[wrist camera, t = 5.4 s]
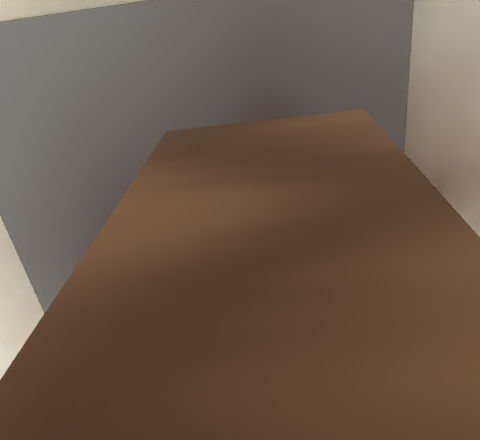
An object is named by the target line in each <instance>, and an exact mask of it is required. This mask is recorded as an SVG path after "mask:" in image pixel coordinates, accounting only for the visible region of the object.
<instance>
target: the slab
mask: <svg viewBox="0 0 480 440" xmlns="http://www.w3.org/2000/svg"><path fill="white" fill-rule="evenodd" d="M0 440H480V237H479V236H478V235H477V234H476V233H475V232H474V231H473V230H472V228H471V227H470V226H469V225H468V224H467V223H466V222H465V221H464V220H463V218H462V217H461V216H460V215H459V214H458V213H457V212H456V211H455V209H454V208H453V207H452V206H451V205H450V204H449V203H448V202H447V201H446V199H445V198H444V197H443V196H442V195H441V194H440V193H439V192H438V191H437V189H436V188H435V187H434V186H433V185H432V184H431V183H430V182H429V181H428V179H427V178H426V177H425V176H424V175H423V174H422V173H421V172H420V171H419V169H418V168H417V167H416V166H415V165H414V164H413V163H412V162H411V161H410V159H409V158H408V157H407V156H406V155H405V154H404V153H403V152H402V151H401V149H400V148H399V147H398V146H397V145H396V144H395V143H394V142H393V141H392V139H391V138H390V137H389V136H388V135H387V134H386V133H385V132H384V131H383V129H382V128H381V127H380V126H379V125H378V124H377V123H376V122H375V120H374V119H373V118H372V117H371V116H370V115H369V114H368V113H367V112H366V110H365V109H360V110H351V111H342V112H333V113H324V114H315V115H306V116H297V117H289V118H280V119H271V120H262V121H253V122H244V123H235V124H226V125H217V126H208V127H199V128H190V129H181V130H172V131H166V132H165V134H164V135H163V137H162V138H161V140H160V141H159V143H158V144H157V146H156V147H155V149H154V150H153V152H152V153H151V155H150V156H149V158H148V159H147V161H146V162H145V164H144V165H143V167H142V168H141V170H140V171H139V173H138V174H137V176H136V177H135V179H134V180H133V182H132V183H131V185H130V186H129V188H128V189H127V191H126V192H125V194H124V195H123V197H122V198H121V200H120V201H119V203H118V204H117V206H116V207H115V209H114V210H113V212H112V213H111V215H110V216H109V218H108V219H107V221H106V222H105V224H104V225H103V227H102V228H101V230H100V231H99V233H98V234H97V236H96V237H95V239H94V240H93V242H92V243H91V245H90V246H89V248H88V249H87V251H86V252H85V254H84V255H83V257H82V258H81V260H80V261H79V263H78V264H77V266H76V267H75V269H74V270H73V272H72V273H71V275H70V276H69V278H68V279H67V281H66V282H65V284H64V285H63V287H62V288H61V290H60V291H59V293H58V294H57V296H56V297H55V299H54V300H53V302H52V303H51V305H50V306H49V308H48V309H47V311H46V312H45V314H44V315H43V317H42V318H41V320H40V321H39V323H38V324H37V326H36V327H35V329H34V330H33V332H32V333H31V335H30V336H29V338H28V339H27V341H26V342H25V344H24V345H23V347H22V348H21V350H20V351H19V353H18V354H17V356H16V357H15V359H14V360H13V362H12V363H11V365H10V366H9V368H8V369H7V371H6V372H5V374H4V375H3V377H2V378H1V380H0Z"/></svg>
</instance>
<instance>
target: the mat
mask: <svg viewBox="0 0 480 440" xmlns="http://www.w3.org/2000/svg"><path fill="white" fill-rule="evenodd" d="M413 6H414V0H150V1H143V2H136V3H129V4H122V5H115V6H108V7H101V8H94V9H87V10H80V11H73V12H66V13H59V14H52V15H45V16H38V17H31V18H24V19H17V20H10V21H3V22H0V216H1V218H2V220H3V222H4V225H5V227H6V229H7V231H8V233H9V236H10V238H11V240H12V242H13V244H14V247H15V249H16V251H17V253H18V255H19V258H20V260H21V262H22V264H23V266H24V269H25V271H26V273H27V275H28V277H29V280H30V282H31V284H32V286H33V288H34V291H35V293H36V295H37V297H38V299H39V302H40V304H41V306H42V308H43V311H44V313H45V312H46V311H47V309H48V308H49V306H50V305H51V303H52V302H53V300H54V299H55V297H56V296H57V294H58V293H59V291H60V290H61V288H62V287H63V285H64V284H65V282H66V281H67V279H68V278H69V276H70V275H71V273H72V272H73V270H74V269H75V267H76V266H77V264H78V263H79V261H80V260H81V258H82V257H83V255H84V254H85V252H86V251H87V249H88V248H89V246H90V245H91V243H92V242H93V240H94V239H95V237H96V236H97V234H98V233H99V231H100V230H101V228H102V227H103V225H104V224H105V222H106V221H107V219H108V218H109V216H110V215H111V213H112V212H113V210H114V209H115V207H116V206H117V204H118V203H119V201H120V200H121V198H122V197H123V195H124V194H125V192H126V191H127V189H128V188H129V186H130V185H131V183H132V182H133V180H134V179H135V177H136V176H137V174H138V173H139V171H140V170H141V168H142V167H143V165H144V164H145V162H146V161H147V159H148V158H149V156H150V155H151V153H152V152H153V150H154V149H155V147H156V146H157V144H158V143H159V141H160V140H161V138H162V137H163V135H164V134H165V132H166V131H172V130H181V129H190V128H199V127H208V126H217V125H226V124H235V123H244V122H253V121H262V120H271V119H280V118H289V117H297V116H306V115H315V114H324V113H333V112H342V111H351V110H360V109H365V110H366V112H367V113H368V114H369V115H370V116H371V117H372V118H373V119H374V120H375V122H376V123H377V124H378V125H379V126H380V127H381V128H382V129H383V131H384V132H385V133H386V134H387V135H388V136H389V137H390V138H391V139H392V141H393V142H394V143H395V144H396V145H397V146H398V147H399V148H400V149H401V151H402V152H403V153H404V140H405V125H406V110H407V96H408V81H409V66H410V51H411V36H412V21H413Z"/></svg>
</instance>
